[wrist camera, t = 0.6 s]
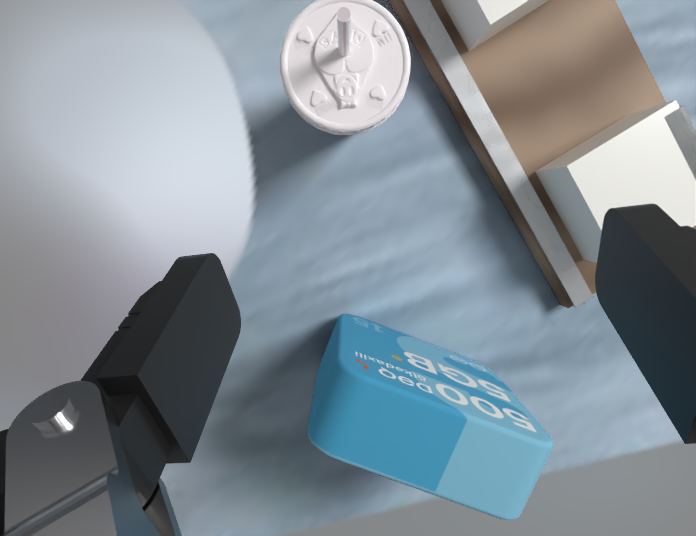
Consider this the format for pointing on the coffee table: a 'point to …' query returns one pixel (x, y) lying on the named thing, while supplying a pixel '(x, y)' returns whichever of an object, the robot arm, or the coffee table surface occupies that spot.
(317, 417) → the data package
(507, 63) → the rail board
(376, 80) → the smoothie
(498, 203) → the coffee table surface
